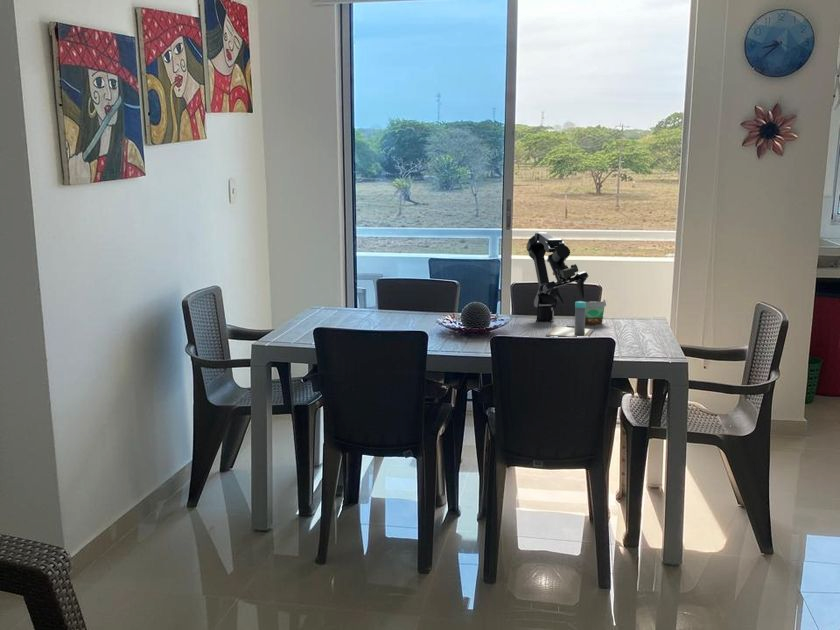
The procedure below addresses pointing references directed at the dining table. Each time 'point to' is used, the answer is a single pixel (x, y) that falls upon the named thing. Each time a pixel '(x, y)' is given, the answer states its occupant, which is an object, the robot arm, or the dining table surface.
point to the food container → (594, 312)
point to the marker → (580, 318)
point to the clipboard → (567, 331)
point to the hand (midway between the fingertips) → (573, 301)
